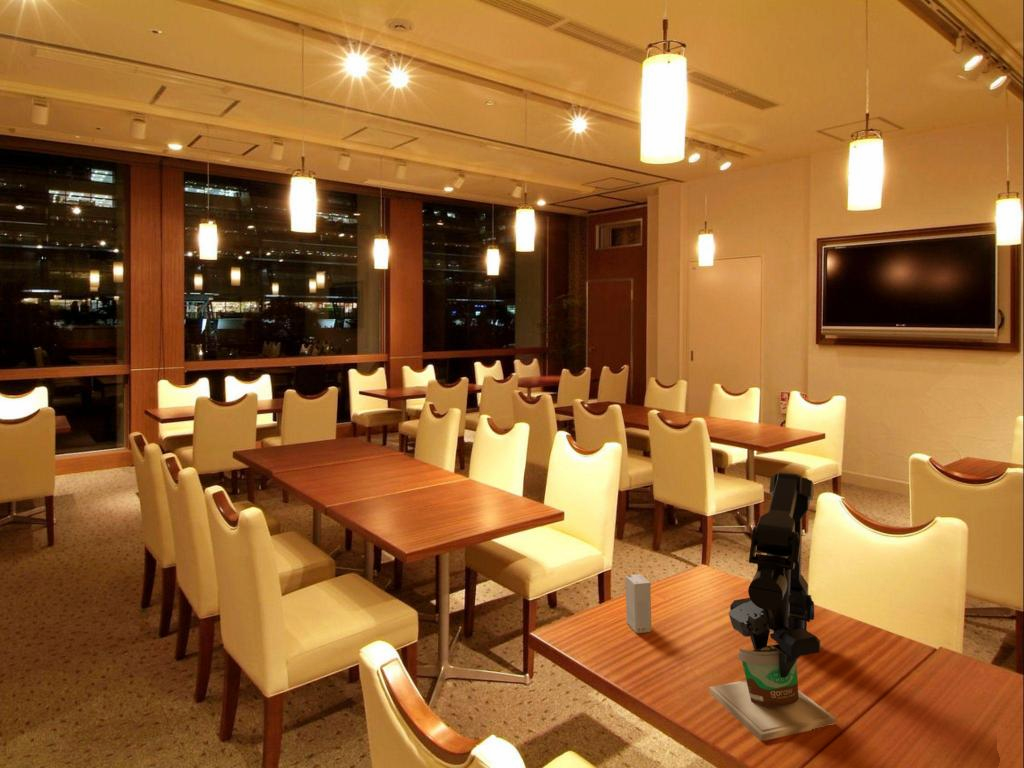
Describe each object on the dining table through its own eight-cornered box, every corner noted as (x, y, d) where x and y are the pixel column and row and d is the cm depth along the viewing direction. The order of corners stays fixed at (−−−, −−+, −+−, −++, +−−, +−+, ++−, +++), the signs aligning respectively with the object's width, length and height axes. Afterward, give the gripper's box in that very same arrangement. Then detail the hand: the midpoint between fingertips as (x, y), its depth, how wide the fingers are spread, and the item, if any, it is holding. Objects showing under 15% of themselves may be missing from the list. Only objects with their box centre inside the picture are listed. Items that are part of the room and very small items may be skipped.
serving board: (777, 683, 138) (777, 673, 138) (835, 728, 123) (835, 717, 122) (709, 696, 133) (709, 686, 133) (760, 745, 118) (761, 733, 118)
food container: (765, 714, 121) (757, 657, 122) (744, 703, 127) (737, 648, 128) (820, 699, 125) (812, 644, 126) (798, 689, 131) (790, 637, 132)
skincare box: (652, 632, 159) (652, 582, 158) (634, 634, 158) (634, 584, 157) (641, 620, 165) (642, 573, 164) (624, 622, 164) (624, 574, 163)
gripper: (707, 576, 132) (706, 651, 134) (770, 616, 114) (768, 702, 116) (755, 569, 135) (753, 643, 137) (823, 607, 118) (820, 691, 119)
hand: (771, 668), depth 127 cm, fingers open, 6 cm apart
